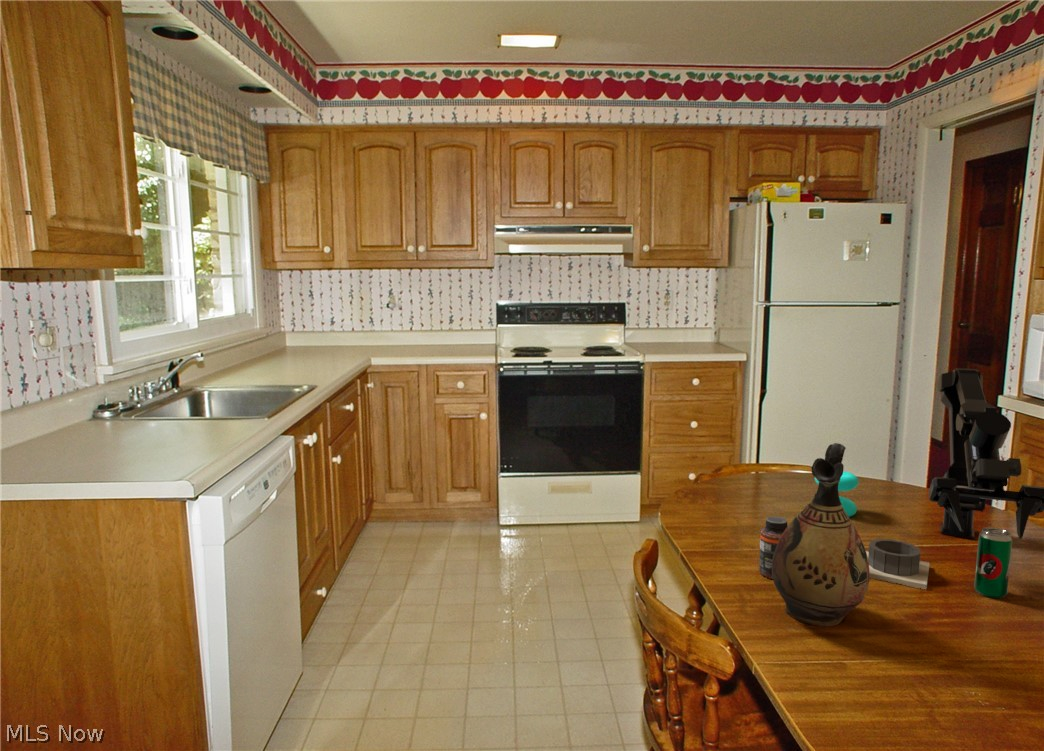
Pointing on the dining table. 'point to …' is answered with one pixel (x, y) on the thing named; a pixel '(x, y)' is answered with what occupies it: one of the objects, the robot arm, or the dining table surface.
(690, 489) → the dining table surface
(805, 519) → the ceramic jug
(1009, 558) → the soda can
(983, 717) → the dining table surface
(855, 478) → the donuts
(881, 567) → the collar socket
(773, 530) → the supplement bottle
